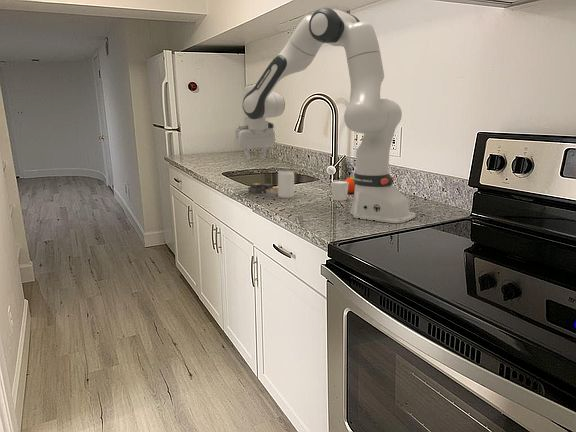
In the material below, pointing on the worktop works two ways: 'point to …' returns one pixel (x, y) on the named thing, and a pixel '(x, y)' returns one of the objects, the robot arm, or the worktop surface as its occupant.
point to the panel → (261, 190)
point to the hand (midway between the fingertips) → (255, 158)
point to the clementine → (350, 184)
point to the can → (285, 183)
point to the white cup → (339, 190)
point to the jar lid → (272, 191)
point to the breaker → (256, 185)
